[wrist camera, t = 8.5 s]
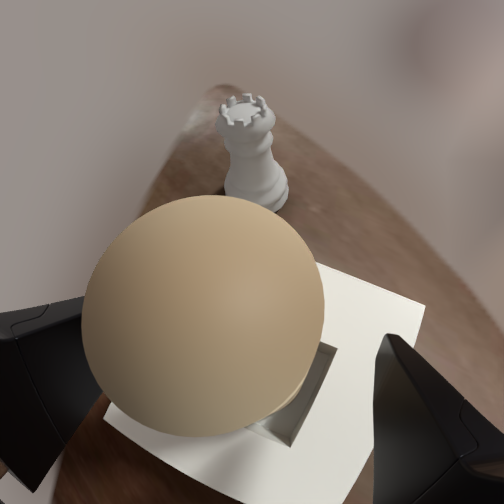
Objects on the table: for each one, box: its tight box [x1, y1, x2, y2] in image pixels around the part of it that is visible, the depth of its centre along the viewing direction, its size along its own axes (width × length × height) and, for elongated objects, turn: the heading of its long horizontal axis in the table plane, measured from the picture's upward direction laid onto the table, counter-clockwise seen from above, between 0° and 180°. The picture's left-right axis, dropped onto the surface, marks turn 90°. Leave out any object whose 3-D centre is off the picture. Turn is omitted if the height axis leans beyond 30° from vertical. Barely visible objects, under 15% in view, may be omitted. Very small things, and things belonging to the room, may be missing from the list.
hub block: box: [103, 262, 425, 504], centre depth 15 cm, size 12×12×4 cm
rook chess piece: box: [215, 94, 289, 213], centre depth 18 cm, size 4×4×8 cm
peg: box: [81, 195, 325, 437], centre depth 10 cm, size 4×4×13 cm
